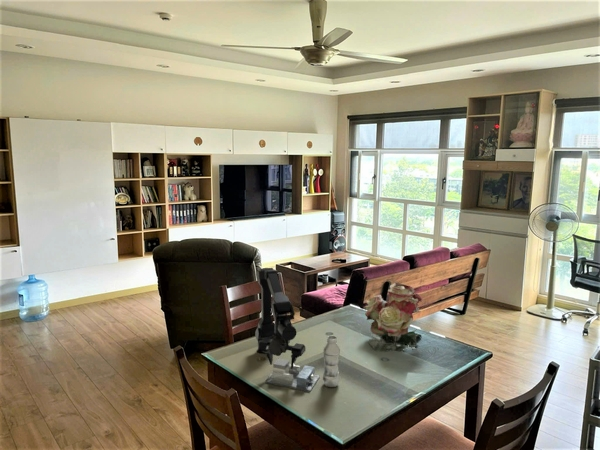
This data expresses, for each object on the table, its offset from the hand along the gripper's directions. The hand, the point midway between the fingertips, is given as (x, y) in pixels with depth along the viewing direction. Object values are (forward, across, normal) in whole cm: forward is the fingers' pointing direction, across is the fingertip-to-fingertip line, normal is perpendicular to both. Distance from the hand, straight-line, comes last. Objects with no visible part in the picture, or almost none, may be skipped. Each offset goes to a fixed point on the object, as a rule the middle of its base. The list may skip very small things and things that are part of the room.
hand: (281, 366), depth 178 cm
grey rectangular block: (+4, 0, 0) cm, 4 cm away
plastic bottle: (+5, +20, +2) cm, 21 cm away
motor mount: (+5, +4, 0) cm, 7 cm away
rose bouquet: (+5, +37, +50) cm, 63 cm away
